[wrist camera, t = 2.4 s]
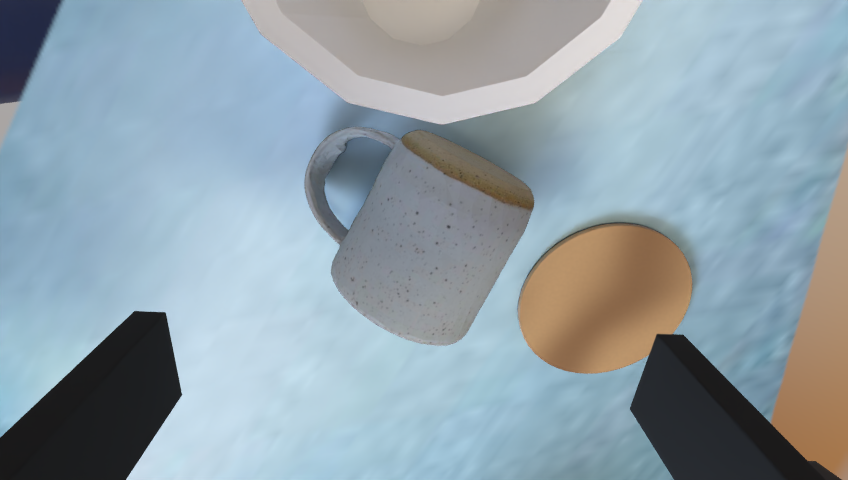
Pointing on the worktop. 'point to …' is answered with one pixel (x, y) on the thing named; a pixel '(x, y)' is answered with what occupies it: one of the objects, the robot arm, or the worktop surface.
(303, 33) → the foam cup
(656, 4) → the worktop surface
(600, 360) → the cork coaster
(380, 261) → the ceramic mug
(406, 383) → the worktop surface
